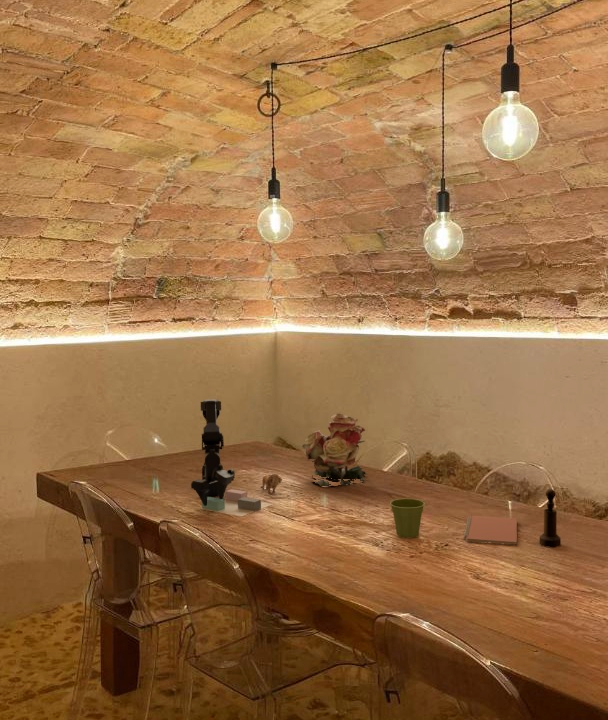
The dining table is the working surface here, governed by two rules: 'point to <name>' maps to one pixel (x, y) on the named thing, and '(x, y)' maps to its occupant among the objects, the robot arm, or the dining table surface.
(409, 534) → the plant pot
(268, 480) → the lion figurine
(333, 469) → the rose bouquet
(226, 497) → the mauve brick
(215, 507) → the teal brick
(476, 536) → the notebook
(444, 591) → the dining table surface
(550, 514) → the black pepper mill
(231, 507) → the baseplate
